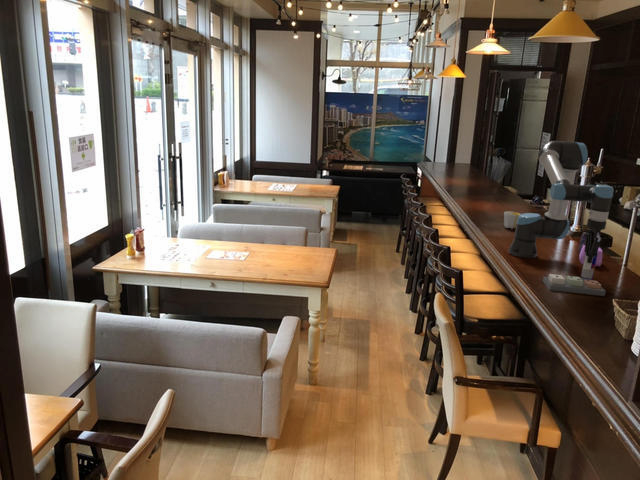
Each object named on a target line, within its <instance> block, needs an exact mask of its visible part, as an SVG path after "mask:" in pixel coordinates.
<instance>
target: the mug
mask: <svg viewBox="0 0 640 480" xmlns="http://www.w3.org/2000/svg"><path fill="white" fill-rule="evenodd" d="M503 215H504V216H503V225H504V228H506V229H508V228H511V229H510V230H514V229H516V222H517V219H518V216H519V215H521V213H519V212H516V211H510V210H509V211H508V210H507V211H504V213H503ZM513 228H514V229H513Z"/></svg>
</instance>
